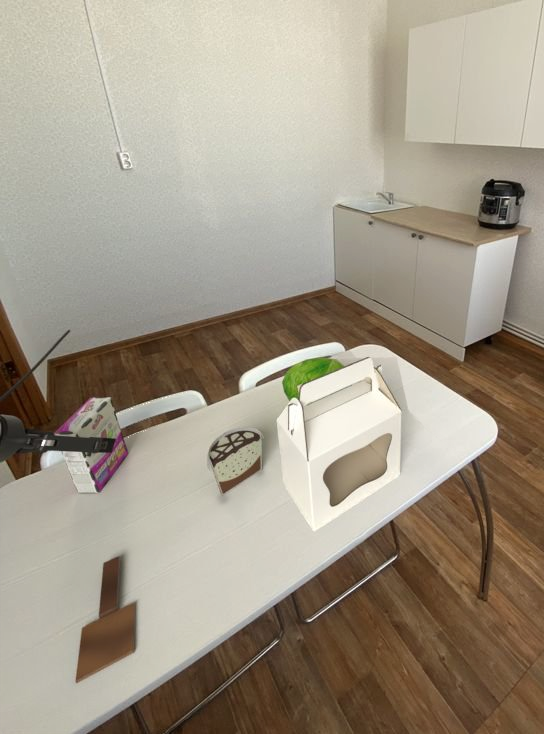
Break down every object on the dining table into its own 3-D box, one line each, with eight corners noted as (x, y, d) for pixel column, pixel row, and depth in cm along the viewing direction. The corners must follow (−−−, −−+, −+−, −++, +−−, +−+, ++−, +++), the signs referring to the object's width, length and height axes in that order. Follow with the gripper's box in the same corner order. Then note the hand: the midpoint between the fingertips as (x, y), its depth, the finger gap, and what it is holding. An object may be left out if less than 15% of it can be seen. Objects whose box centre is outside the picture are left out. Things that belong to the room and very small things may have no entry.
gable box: (365, 439, 94) (364, 339, 84) (401, 475, 84) (404, 365, 74) (282, 485, 82) (269, 374, 72) (312, 533, 72) (302, 411, 62)
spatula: (89, 574, 66) (87, 569, 65) (135, 554, 69) (134, 549, 68) (76, 683, 52) (73, 678, 52) (134, 652, 55) (132, 647, 55)
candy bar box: (108, 453, 91) (90, 396, 85) (129, 453, 91) (112, 396, 85) (75, 494, 80) (52, 432, 75) (98, 494, 80) (77, 432, 75)
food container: (253, 451, 91) (248, 417, 87) (267, 466, 87) (263, 431, 83) (202, 482, 83) (195, 446, 79) (215, 500, 79) (208, 463, 75)
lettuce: (362, 386, 113) (330, 340, 115) (364, 398, 93) (325, 341, 95) (314, 421, 112) (283, 373, 113) (306, 440, 92) (268, 382, 94)
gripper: (-100, 458, 60) (21, 458, 79) (41, 471, 57) (131, 468, 76) (-74, 408, 63) (36, 419, 82) (61, 418, 60) (143, 428, 79)
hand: (82, 443), depth 79 cm, fingers open, 13 cm apart
